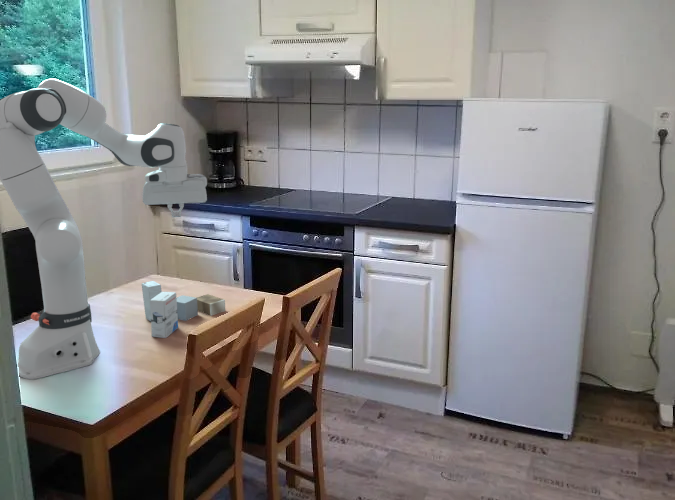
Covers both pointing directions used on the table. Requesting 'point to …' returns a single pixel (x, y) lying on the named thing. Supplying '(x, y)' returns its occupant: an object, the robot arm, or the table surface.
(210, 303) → the walnut block
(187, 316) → the slate block
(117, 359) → the table surface
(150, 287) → the skincare box
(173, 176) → the robot arm
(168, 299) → the ink box
